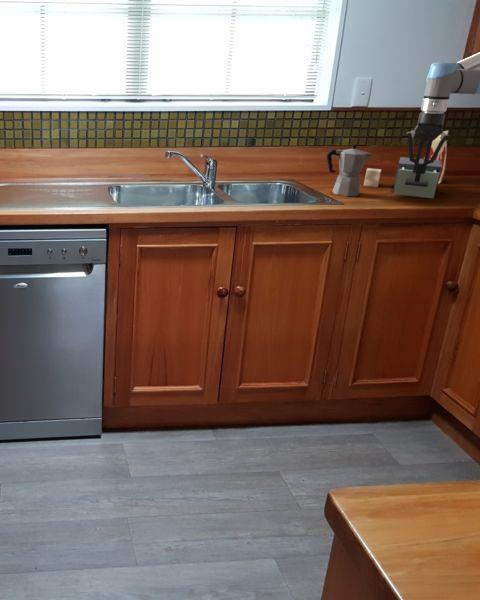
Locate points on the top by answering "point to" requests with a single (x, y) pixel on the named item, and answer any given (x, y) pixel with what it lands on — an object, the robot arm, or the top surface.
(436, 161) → the cabinet
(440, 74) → the robot arm
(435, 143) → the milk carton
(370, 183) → the block
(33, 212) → the top surface
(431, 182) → the bin
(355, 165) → the coffeepot
